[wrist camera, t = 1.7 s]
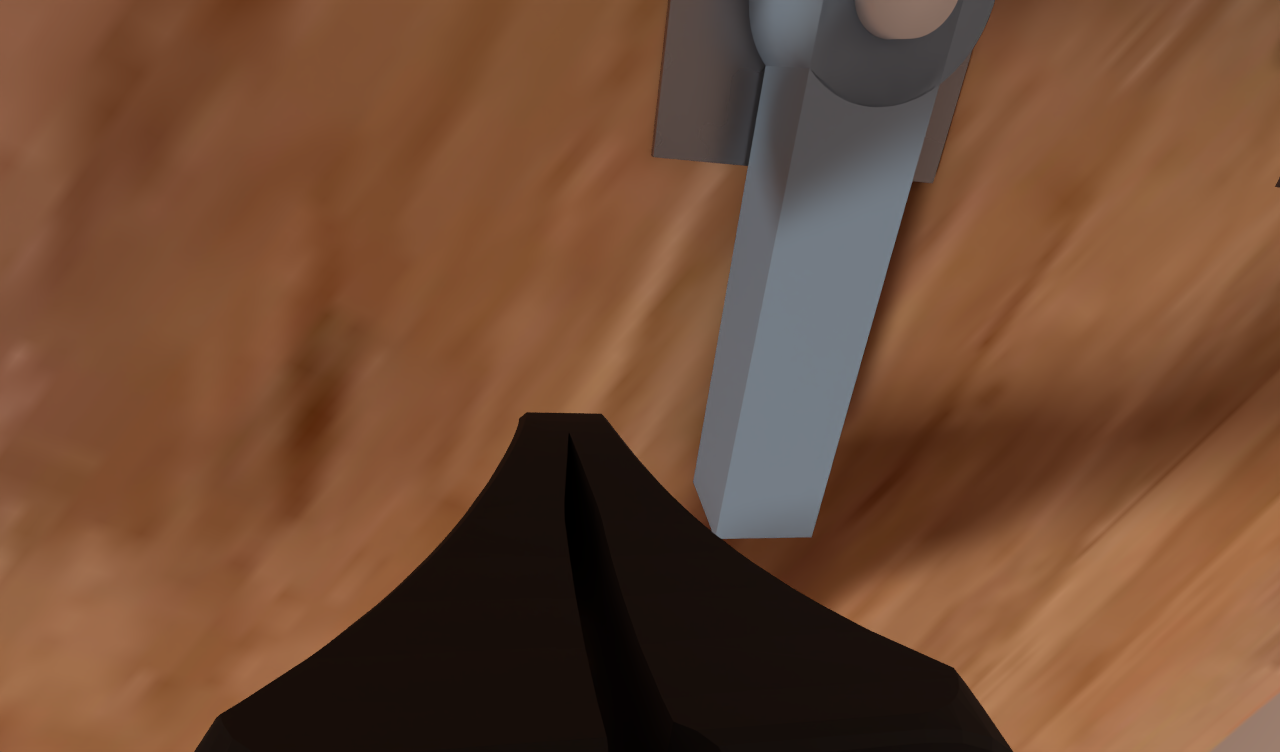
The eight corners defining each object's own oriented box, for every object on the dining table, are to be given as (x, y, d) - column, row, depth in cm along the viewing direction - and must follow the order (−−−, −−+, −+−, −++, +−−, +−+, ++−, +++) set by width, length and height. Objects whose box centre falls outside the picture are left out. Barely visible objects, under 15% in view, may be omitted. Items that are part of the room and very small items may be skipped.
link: (769, -132, 14) (838, -185, 11) (949, -98, 15) (1064, -140, 12) (672, 482, 21) (698, 558, 18) (798, 482, 22) (844, 555, 19)
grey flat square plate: (926, 181, 18) (932, 183, 18) (651, 155, 17) (652, 156, 17) (1031, -176, 15) (1040, -180, 15) (695, -247, 13) (699, -254, 13)
